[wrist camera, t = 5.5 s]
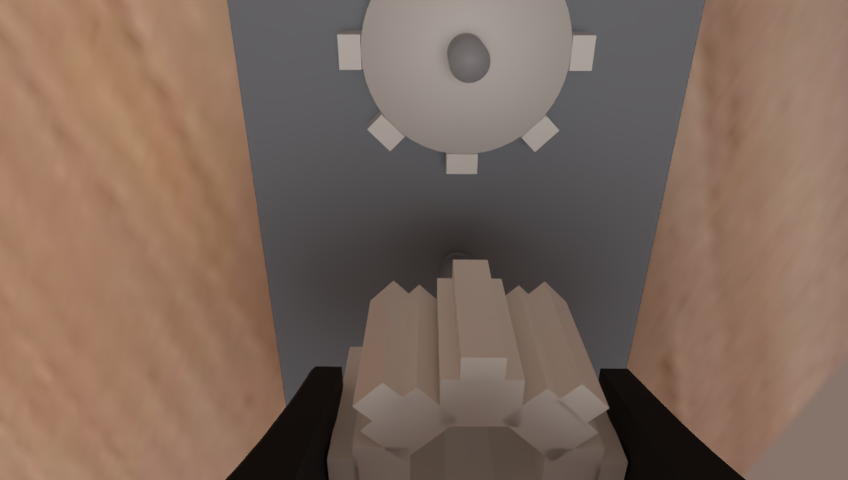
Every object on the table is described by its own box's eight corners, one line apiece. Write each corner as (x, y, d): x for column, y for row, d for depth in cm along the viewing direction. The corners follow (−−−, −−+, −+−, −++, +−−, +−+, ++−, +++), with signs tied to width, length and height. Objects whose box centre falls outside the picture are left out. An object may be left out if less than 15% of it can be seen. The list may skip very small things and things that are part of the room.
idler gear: (566, 444, 15) (602, 569, 12) (357, 442, 15) (338, 566, 12) (597, 260, 13) (652, 358, 9) (343, 258, 13) (315, 356, 9)
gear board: (590, 480, 25) (623, 587, 21) (305, 477, 25) (279, 584, 21) (719, -165, 14) (843, -219, 10) (218, -166, 14) (128, -221, 10)
